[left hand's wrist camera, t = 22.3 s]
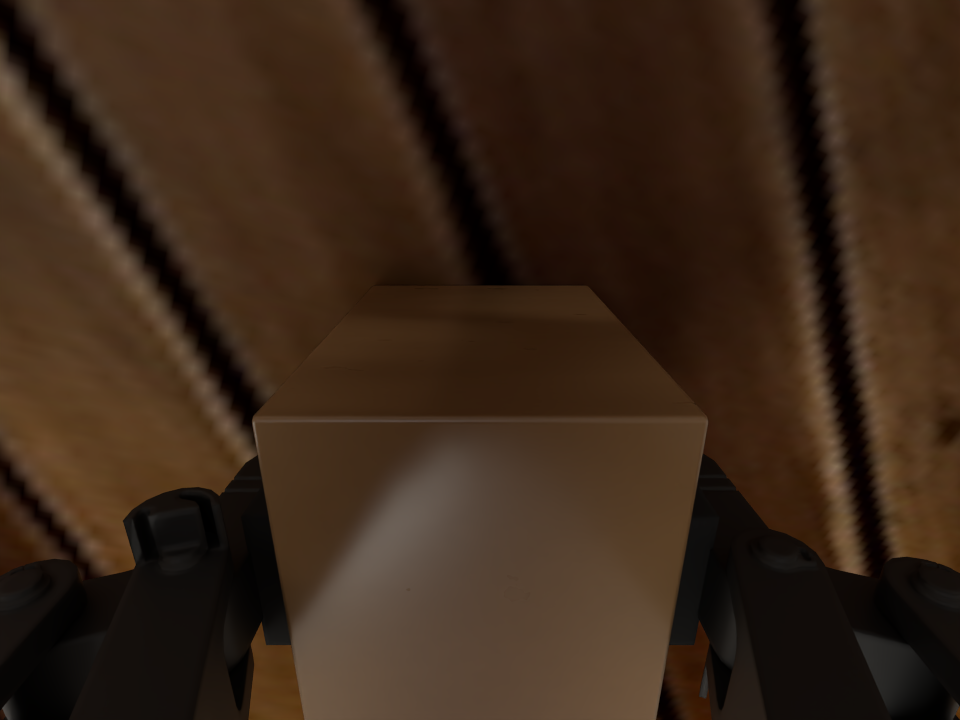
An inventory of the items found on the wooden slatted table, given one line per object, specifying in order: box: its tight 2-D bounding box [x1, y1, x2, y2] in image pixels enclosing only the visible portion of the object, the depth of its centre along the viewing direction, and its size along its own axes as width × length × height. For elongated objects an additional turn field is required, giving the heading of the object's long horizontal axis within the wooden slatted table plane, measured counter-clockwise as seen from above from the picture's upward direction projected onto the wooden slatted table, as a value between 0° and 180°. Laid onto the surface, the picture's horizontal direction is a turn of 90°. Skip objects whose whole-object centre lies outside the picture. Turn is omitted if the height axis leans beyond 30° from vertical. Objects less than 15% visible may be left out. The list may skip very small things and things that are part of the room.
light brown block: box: [252, 286, 708, 720], centre depth 12 cm, size 6×7×8 cm
